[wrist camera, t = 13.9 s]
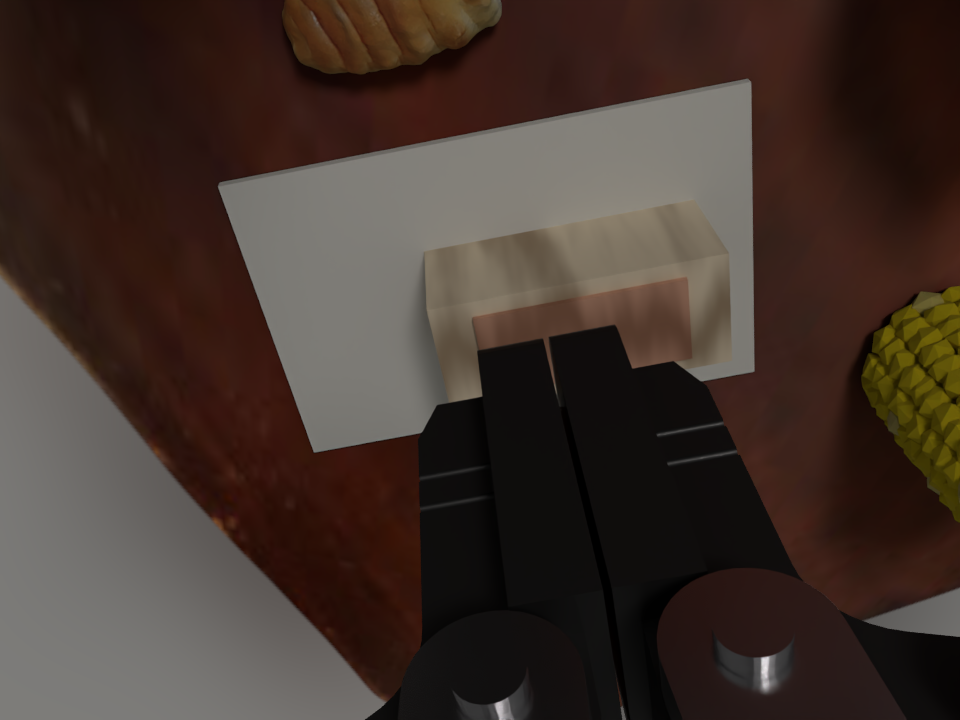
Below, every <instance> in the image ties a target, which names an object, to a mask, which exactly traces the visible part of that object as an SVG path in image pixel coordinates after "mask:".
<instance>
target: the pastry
mask: <svg viewBox="0 0 960 720" xmlns="http://www.w3.org/2000/svg"><path fill="white" fill-rule="evenodd" d="M501 11H502V4H501V1H500V0H285V1H284V9H283V12H282V18H283V25H284V27H285V30H286V33H287V36H288V38H289V39H290V41H291V44H292V47H293V51H294V53H295V55H296V57H297V59H298V60H299V61H300V62H301V63H302V64H304V65H306V66H310V67H313V68H315V69H318V70H320V71H322V72H324V73H328V74H336V73H346V72H351V73H355V74H366V73H367V72H376V71H379V70H389V69H393V68H396V67H398V66H400V65H421V64H422V63H423V62H425V61H426V60H428V58H429V57H430V56H432V55H434V54H437V53H440V52H441V51H443V50H444V49H446V48H450V49H459V48H461V47H463V46H465V45H466V44H467V43H468V42H469V41H470V40H471V39H472V38H473V37H474V36H475V35H476V34H477V33H478V32H479V31H481V30H483V29H484V28H486V27H490V26H494V25H495V24H496V23H497V22H498V21H499V19H500V17H501Z"/></svg>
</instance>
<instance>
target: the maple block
mask: <svg viewBox="0 0 960 720" xmlns="http://www.w3.org/2000/svg"><path fill="white" fill-rule="evenodd" d="M424 259H425V282H426V306H427V314H428V318H429V322H430V326H431V330H432V334H433V338H434V342H435V347H436V351H437V355H438V359H439V363H440V367H441V371H442V375H443V379H444V383H445V387H446V392H447V396H448V400H449V403H450V402H456V401H461V400H467V399H472V398H477V397H482V389H481V381H480V373H479V364H478V356H477V350H482V349H487V348H492V347H498V346H503V345H508V344H514V343H519V342H524V341H530V340H535V339H540V338H543V340H544V344H545V348H546V352H547V357H548V361H549V365H550V369H551V373H552V378H553V382H554V386H555V379H554V373H553V367H552V361H551V354H550V348H549V339H548V337H550V336H555V335H560V334H566V333H571V332H576V331H582V330H587V329H592V328H598V327H603V326H608V325H614V324H615V325H616V327H617V329H618V331H619V334H620V337H621V339H622V342H623V345H624V347H625V350H626V353H627V356H628V358H629V361H630V364H631V366H632V369H633V368H638V367H643V366H649V365H654V364H660V363H665V362H670V361H674V362H676V363H677V364H678V365H680V366H681V367H682V368H684V369H691V368H696V367H701V366H707V365H712V364H718V363H723V362H729V361H732V341H731V305H730V269H729V252H728V251H727V249H726V248H725V246H724V245H723V243H722V242H721V240H720V238H719V237H718V235H717V234H716V232H715V231H714V229H713V228H712V226H711V225H710V223H709V221H708V220H707V218H706V217H705V215H704V214H703V212H702V211H701V209H700V208H699V206H698V204H697V203H696V201H695V200H689V201H684V202H679V203H674V204H668V205H663V206H658V207H653V208H648V209H642V210H637V211H632V212H627V213H622V214H616V215H611V216H606V217H601V218H596V219H590V220H585V221H580V222H575V223H569V224H564V225H559V226H554V227H549V228H543V229H538V230H533V231H528V232H523V233H517V234H512V235H507V236H502V237H496V238H491V239H486V240H481V241H476V242H470V243H465V244H460V245H455V246H450V247H444V248H439V249H434V250H429V251H424ZM555 390H556V386H555ZM556 393H557V392H556Z"/></svg>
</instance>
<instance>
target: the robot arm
mask: <svg viewBox="0 0 960 720" xmlns="http://www.w3.org/2000/svg"><path fill="white" fill-rule="evenodd" d="M548 339H549V348H550V354H551V361H552V367H553V373H554V379H555V386H556V390H555V386H554V382H553V378H552V373H551V369H550V365H549V361H548V357H547V352H546V348H545V344H544V340H543V338H540V339H535V340H530V341H524V342H519V343H514V344H508V345H503V346H498V347H492V348H487V349H482V350H477V356H478V364H479V373H480V381H481V389H482V397H477V398H472V399H467V400H461V401H456V402H450V403H445V404H440V405H437V406H436V408H435V409H434V411H433V413H432V415H431V417H430V419H429V420H428V422H427V424H426V426H425V428H424V430H423V432H422V433H421V435H420V437H419V439H418V448H419V477H420V482H419V494H420V509H421V513H420V540H421V585H422V642H421V646H420V649H419V651H418V652H417V653H416V654H415V656H414V657H413V659H412V661H411V663H410V664H409V666H408V668H407V670H406V673H405V676H404V678H403V681H402V686H401V687H400V689H399V690H398V691H397V692H396V693H395V695H394V696H393V697H392V698H391V699H390V700H389V701H388V702H387V703H386V704H385V705H384V706H382V707H381V708H380V709H379V710H378V711H376V712H375V713H373V714H372V715H371V716H370V717H368V718H367V719H365V720H622V715H621V708H620V701H619V694H618V688H617V682H618V687H619V691H620V695H621V700H622V704H623V708H624V713H625V717H626V720H960V637H954V636H945V635H935V634H925V633H915V632H906V631H900V630H894V629H887V628H883V627H880V626H876V625H872V624H869V623H867V622H864V621H861V620H859V619H856V618H854V617H851V616H849V615H847V614H845V613H844V612H842V611H840V610H838V609H837V607H836V606H835V605H834V604H833V603H832V602H831V601H830V600H829V599H828V598H827V597H826V596H825V595H824V594H822V593H821V592H819V591H818V590H817V589H815V588H814V587H812V586H811V585H809V584H807V583H805V582H804V581H803V580H802V579H801V578H800V577H799V575H798V573H797V572H796V570H795V568H794V567H793V565H792V563H791V561H790V559H789V557H788V555H787V553H786V551H785V549H784V546H783V544H782V542H781V540H780V538H779V536H778V534H777V532H776V530H775V528H774V525H773V523H772V521H771V519H770V517H769V515H768V513H767V511H766V509H765V507H764V505H763V502H762V500H761V498H760V496H759V494H758V492H757V490H756V488H755V486H754V484H753V481H752V479H751V477H750V475H749V473H748V471H747V469H746V467H745V465H744V463H743V461H742V458H741V456H740V455H738V454H737V449H736V446H735V444H734V442H733V440H732V438H731V435H730V433H729V431H728V429H727V427H726V426H725V427H724V424H723V419H722V417H721V414H720V412H719V410H718V408H717V406H716V404H715V402H714V400H713V398H712V396H711V394H710V391H709V389H708V387H707V386H706V385H705V384H704V383H702V382H701V381H700V380H698V379H697V378H696V377H694V376H693V375H692V374H690V373H689V372H688V371H686V370H685V369H684V368H682V367H681V366H680V365H678V364H677V363H676V362H674V361H670V362H665V363H660V364H654V365H649V366H643V367H638V368H633V369H632V366H631V364H630V361H629V358H628V356H627V353H626V350H625V347H624V345H623V342H622V339H621V337H620V334H619V331H618V329H617V327H616V325H615V324H614V325H608V326H603V327H598V328H592V329H587V330H582V331H576V332H571V333H566V334H560V335H555V336H550V337H548ZM556 392H557V394H556ZM557 398H558V399H557ZM616 678H617V681H616Z"/></svg>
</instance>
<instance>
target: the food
mask: <svg viewBox="0 0 960 720" xmlns="http://www.w3.org/2000/svg"><path fill="white" fill-rule="evenodd" d="M872 352H874V353H868V356H867V358H866V361H865V364H864V367H863V375H861V382H862V387H863V389H864V391H865V393H866V395H867V396H868V399H869V402H870V405H871V407H873V408H876V415H877V416H878V417H880V419H882V420H884V424H885V425H886V426H887V427H888V431H890V432H892V433H893V434H894V441H895V442H896V443H897V444H898V445H899V446H900V447H902V448H903V449H904V453H905V455H906V456H907V457H908V458H909V460H910V461H911V463H913V464H914V465H915V466H916V467H917V468H919V469H920V470H921V471H922V472H923V474H924V475H925V477H927V487H928V488H929V489H931V490H932V491H934V492H936V493H937V494H939V495H940V496H939V501H940V502H941V503H943V504H944V505H946V506H947V507H948V508H950V510H952V514H953V517H954V520H956V521H957V522H959V523H960V286H956V287H949V288H948V289H946V290H945V291H944V292H943V293H941V294H940V293H930V292H920V293H919V294H918V296H917V297H916V298H915V300H914V301H913V302H912V304H911V305H908V306H906V307H904V308H902V309H900V310H898V311H895V312H894V313H893V315H892V317H891V320H890V323H889V325H887V326H885V327H883V328H882V329H880V330H878V331H876V332H874V337H873V346H872Z"/></svg>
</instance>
